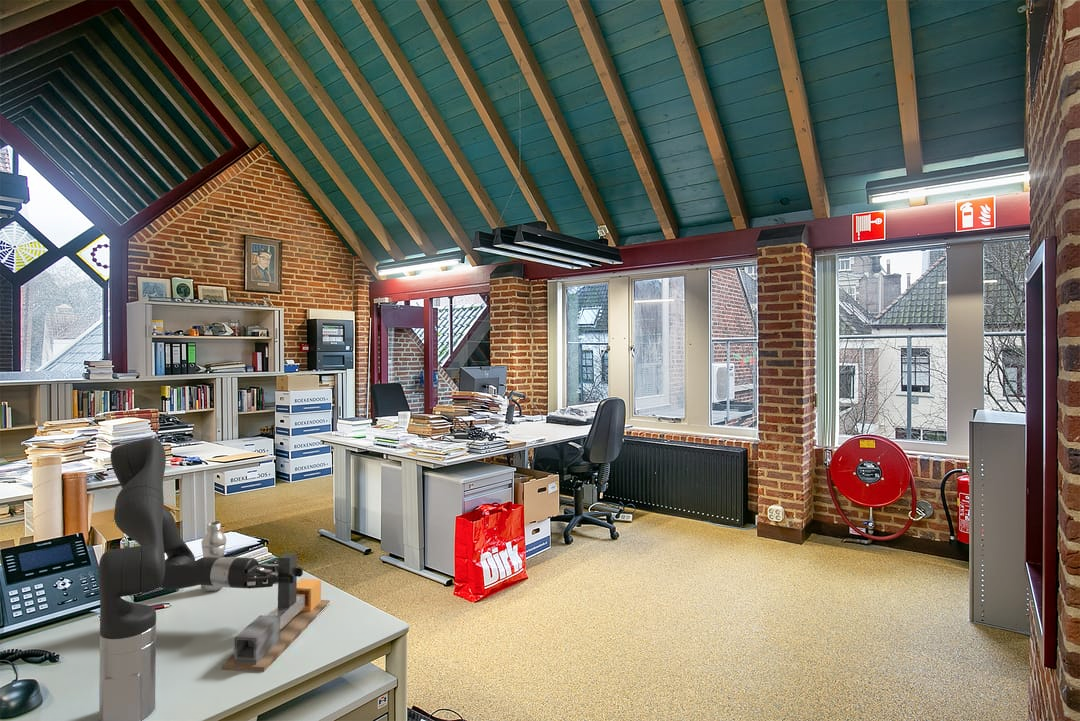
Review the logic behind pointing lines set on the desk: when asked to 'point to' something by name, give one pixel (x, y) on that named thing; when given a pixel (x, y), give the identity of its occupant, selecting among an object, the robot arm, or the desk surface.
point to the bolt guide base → (268, 640)
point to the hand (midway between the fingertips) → (297, 575)
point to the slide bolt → (287, 592)
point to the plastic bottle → (213, 547)
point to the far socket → (310, 592)
